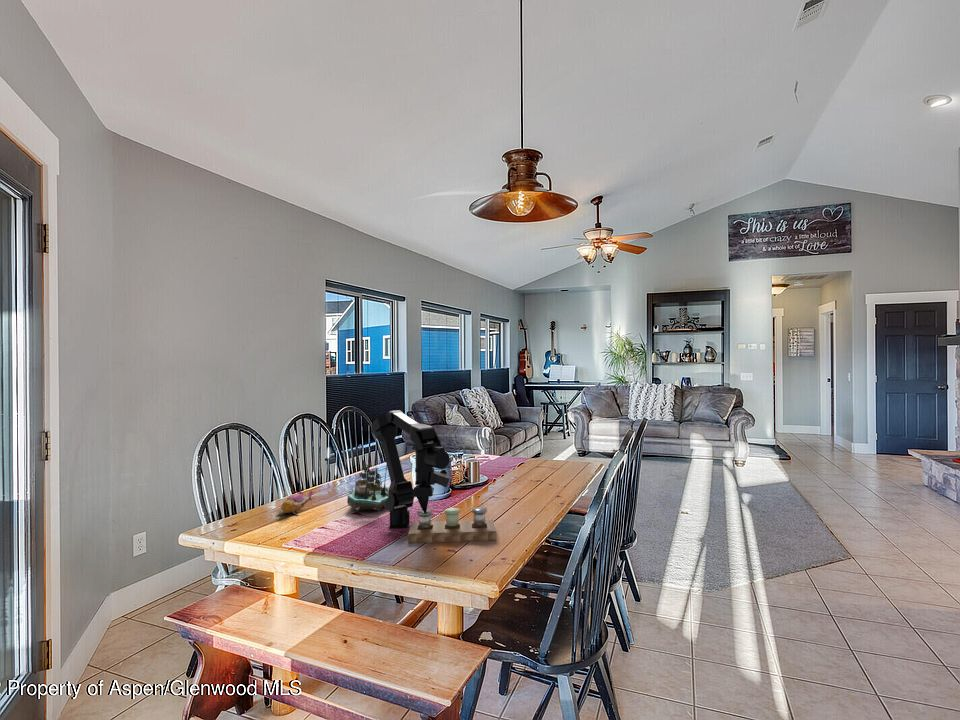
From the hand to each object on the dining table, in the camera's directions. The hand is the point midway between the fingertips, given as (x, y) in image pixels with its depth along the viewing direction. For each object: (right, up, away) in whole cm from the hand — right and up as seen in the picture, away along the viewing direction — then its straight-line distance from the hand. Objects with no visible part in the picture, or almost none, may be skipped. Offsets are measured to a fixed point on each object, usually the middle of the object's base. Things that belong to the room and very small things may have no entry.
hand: (424, 511), depth 175 cm
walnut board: (+9, -8, 0) cm, 12 cm away
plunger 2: (+18, -4, +1) cm, 19 cm away
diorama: (-24, -9, +37) cm, 46 cm away
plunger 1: (0, -5, 0) cm, 5 cm away
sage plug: (+9, -4, 0) cm, 10 cm away
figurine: (-56, -10, +37) cm, 67 cm away
